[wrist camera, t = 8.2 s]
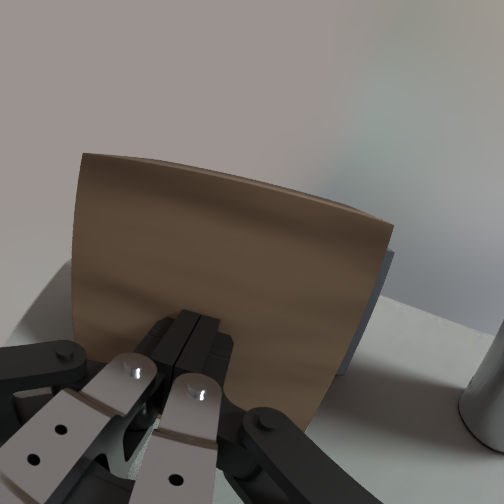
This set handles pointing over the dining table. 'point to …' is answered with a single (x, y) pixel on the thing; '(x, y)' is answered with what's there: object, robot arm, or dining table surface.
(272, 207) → the walnut block
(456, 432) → the dining table surface
